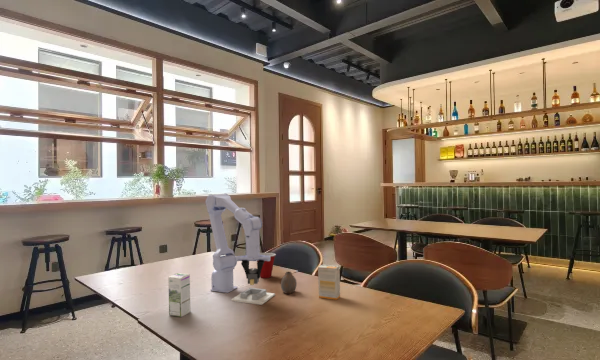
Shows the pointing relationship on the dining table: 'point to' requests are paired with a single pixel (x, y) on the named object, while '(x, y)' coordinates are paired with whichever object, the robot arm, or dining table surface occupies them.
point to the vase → (288, 283)
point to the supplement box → (329, 281)
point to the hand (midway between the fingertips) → (253, 278)
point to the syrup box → (179, 294)
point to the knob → (253, 276)
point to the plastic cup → (267, 266)
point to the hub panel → (254, 296)
